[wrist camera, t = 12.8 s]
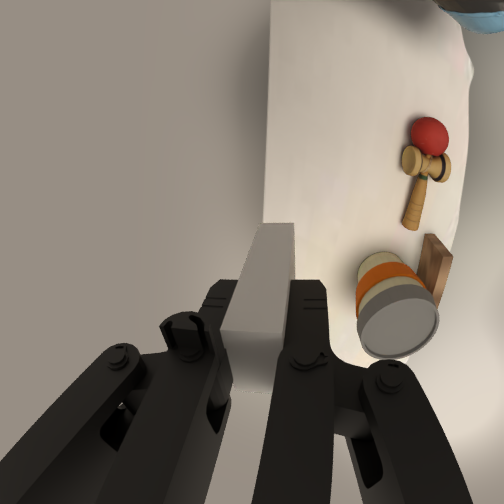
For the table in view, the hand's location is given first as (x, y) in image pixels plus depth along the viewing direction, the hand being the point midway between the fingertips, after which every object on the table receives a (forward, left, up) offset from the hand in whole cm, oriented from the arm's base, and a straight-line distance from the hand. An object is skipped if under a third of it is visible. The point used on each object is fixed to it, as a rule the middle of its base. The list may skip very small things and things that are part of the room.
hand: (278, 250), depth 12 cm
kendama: (+2, +20, -31) cm, 37 cm away
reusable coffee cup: (+21, +15, -31) cm, 40 cm away
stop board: (+21, +24, -30) cm, 44 cm away
